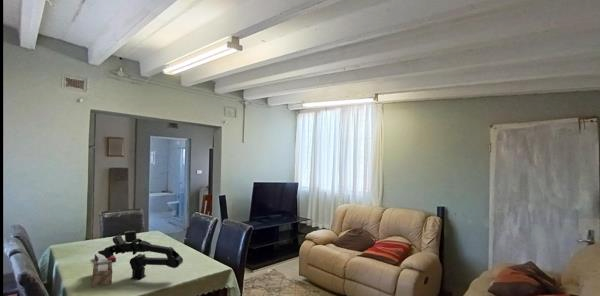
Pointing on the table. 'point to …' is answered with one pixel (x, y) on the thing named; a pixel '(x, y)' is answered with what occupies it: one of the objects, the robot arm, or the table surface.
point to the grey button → (103, 262)
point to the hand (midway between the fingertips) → (102, 250)
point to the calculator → (100, 257)
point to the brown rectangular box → (102, 275)
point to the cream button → (103, 267)
